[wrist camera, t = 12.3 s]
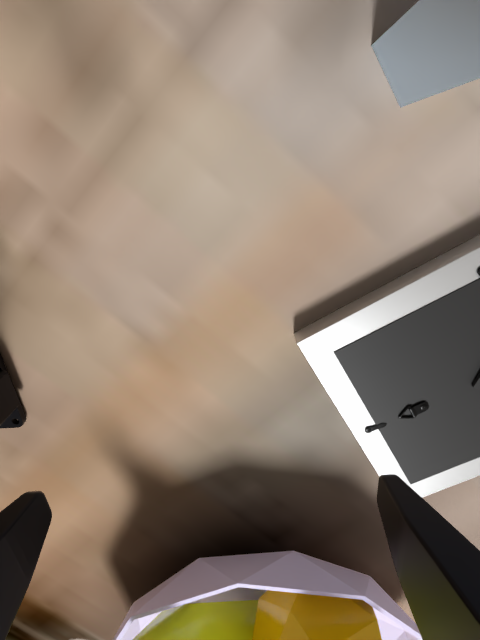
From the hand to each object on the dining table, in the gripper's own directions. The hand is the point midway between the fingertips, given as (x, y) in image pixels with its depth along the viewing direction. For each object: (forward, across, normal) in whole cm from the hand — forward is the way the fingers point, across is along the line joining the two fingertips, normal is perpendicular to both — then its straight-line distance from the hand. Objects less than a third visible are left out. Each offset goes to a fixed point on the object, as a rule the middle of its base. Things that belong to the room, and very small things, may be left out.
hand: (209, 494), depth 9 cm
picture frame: (+14, -17, +4) cm, 22 cm away
